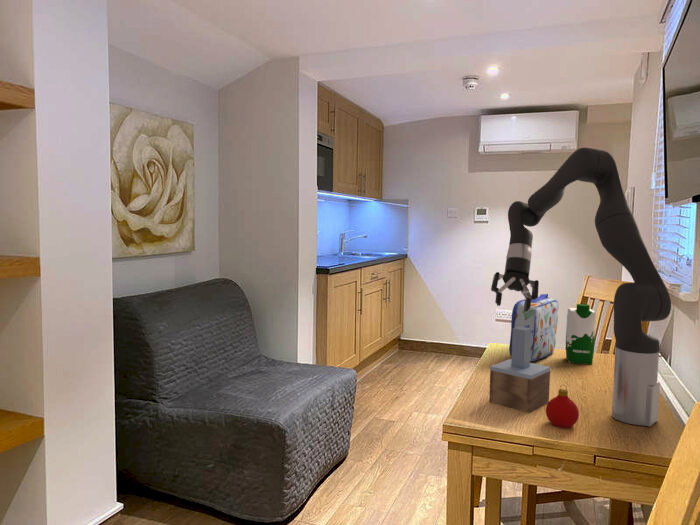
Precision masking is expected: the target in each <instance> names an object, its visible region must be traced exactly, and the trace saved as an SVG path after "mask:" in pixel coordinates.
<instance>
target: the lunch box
mask: <svg viewBox="0 0 700 525" xmlns="http://www.w3.org/2000/svg"><path fill="white" fill-rule="evenodd" d="M548 296H549V294H548V293H544V294H543V293H542V294H539V295H538V298H536V299H535V300H531V305H530V309H529V310H528V311H526V312H525V311H524V304H525V300H526V299H525V298H524V299H520V300H518V301H516V302H515V304H514V305H513V307H512V311H511V321H510V322H511V323H510V327H511V328H510V338H509V346H508V349H509V350H508V351H509V356H510V357H512V335H513V328H516V327H524V328H531V349H530V362H535V361H538V360H541V359H544V358H547V357H548V356H549V355H551V354H553V353H554V351H555V348H556V344H557V343H556V342H557V341H556V340H557V339H556V336H557V330H558V329H557V328H558V319H559V302H558V300H557V299H555V298H550V297H548Z"/></svg>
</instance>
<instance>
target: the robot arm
mask: <svg viewBox="0 0 700 525" xmlns="http://www.w3.org/2000/svg"><path fill="white" fill-rule="evenodd" d="M576 181H579V182H583V183H589V184H590V183H591V184H593V185H594V186H595V188H596V190H597V193H598V195H599V204H598V207H597V211H596V212H595V216H594V225H595V230H596V232H597V236H598V238H599V241H600V243H601V245H602V247H603V248H604V249H605V251H606V252H607V253H608V254H609V255H610V256H611V257H612V258H613V259H615V260H616V261H617V262H618V263H619V264H620V265H622V267H623V268H624V269H625V270H626V271H627V272H628V273H629V275H630V276H631V278H632V280H633V282H625V283H621V284H620V285H619V286H618V287H617V288H616V291H615V293H614V299H613V335H614V338H615V349H614V350H615V351H614V367H613V368H614V369H613V370H614V371H613V382H612V383H613V384H612V385H613V388H612V403H611V416H612V417H613V419H615V420H616V421H620V422H622V423H626V424H629V425H630V424H631V425H635V426H644V427H645V426H646V427H652V426H653V425H654V424H655V423H656V422H657V421H658V417H659V403H660V387H661V386H660V385H661V384H660V381H658V378H659V376H658V375H659V360H660V359H659V358H660V346H661V344H660V341H659V339H658V338H657V337H655V336H652V335H649V334H646V333H645V332H644V331H643V327H642V322H661V321H664V320H666V319H667V318H668V317H669V315H670V314H671V311H672V301H671V300H672V299H671V296H670V293H669V291H668V289H667V286H666V284H665V283H664V280H663V278H662V277H661V276H660V275H661V274H659V271H658V270H657V267H656V266H655V265H654V264H655V263H654V262H653V260H652V258H651V257H650V253H649V251H648V249H647V247H646V245H645V242H644V241H643V240H644V239H643V237H642V235H641V233H640V229H639V226H638V223H637V221H636V219H635V217H634V214H633V212H632V210H631V207H630V205H629V203H628V200H627V197H626V194H625V191H624V188H623V184H622V181H621V177H620V173H619V169H618V166H617V162H616V159H615V157H614V155H613V154H612V153H611V152H609V151H606V150H602V149H598V148H592V147H580V148H577V149H576V150H575V151H574V152H573V153H571V154H570V156H568V158H567V159H566V160H565V161H564V162H563V163H562V164H561V165H560V167H559V168H558V169H557V170H556V172H555V173H554V174H553V175H552V177H551V178H550V179H549V180H548V181H547V182H546V183H545V184H544V185H543V186H542V187H540V188H539V189H538V190H536V191H535V192H534V193H533V194H531V195H530V196H529V198H528V200H527V203H526V202H523V201H519V200H516V201H513V202H512V203H511V204H510V206H509V208H508V211H507V220H508V226H509V233H510V234H509V235H510V237H509V243H508V248H507V254H506V257H505V259H506V262H505V267H504V273H503V274H502V273H500V272H498V271H497V272H495V273H494V274H493V278H492V282H491V283H492V284H491V288H490V290H491V292H493V293H495V294H496V295H495V302H494V303H495V304H496V306H498V307H500V306H501V304H502V298H503V292H504V291H505V290H506V289H508V290H510V291H515V292H518V293H519V292H520V293H521V295H522V296H524V299H526V300H525V304H524V311H525V312H526V311H528V310H529V309H530V305H531V300H535V299H536V298H538V297H539V279H538V280H537V279H536V280H531V279H530V278H529V277H530V270H531V269H530V268H531V261H532V248H533V247H532V246H533V238H534V235H533V232H532V231H531V230H530V229H529V228H527V227H535V226H537V225H538V224H539V223H540V222H541V220H542V219H543V217H544V216H545V214H546V213H547V212H548V211H549V210H551V209H552V208H553V207H555V206H557V205H558V203H560V202H561V200H562V199H563V197H564V194H565V191H566V190H565V189H566V187H567V186H568V185H570V184H572V183H574V182H576ZM501 280H502V281H503V283H504V284H503V285H502V286H500V288H499V287H498V284H499V281H501ZM528 285H530V287H531V292H530V290H529V288H528Z"/></svg>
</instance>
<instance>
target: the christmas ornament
mask: <svg viewBox="0 0 700 525" xmlns="http://www.w3.org/2000/svg"><path fill="white" fill-rule="evenodd" d="M562 386H565V387H566V389H563V388H561V387H562ZM568 391H569V390H568V387H567V386H566V385H565V384H561V385H560V387H559V389H558V391H557V392H558V394H557V395H556V396H555V397H553V398H551V399H549V402H548V403H547V404H546V405H545V406H546V407H545V416H546V418H547V420H548V421H549V422H550V423H551V425H553V426H555V427H556V428H560V429H568V428H571V427H573V426H574V425H575V424H577V422H578V420H579V415H580V411H579V409H578V408H579V407H578V406H577V404H576V403H575V401H573V400H572V399H571V398H570V397H569V396H568V393H569V392H568Z"/></svg>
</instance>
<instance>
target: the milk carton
mask: <svg viewBox="0 0 700 525" xmlns="http://www.w3.org/2000/svg"><path fill="white" fill-rule="evenodd" d="M596 317H597V313H596V311H595V310H594V309H591V307H590V304H587V303H577V304H576V307H567V313H566V326H565V328H566V329H565V353H566V354H565V355H566V357H565V358H566V359H567V361H568V362H569V364H577V365H578V364H579V365H593V359H594V353H595V341H596V338H595V337H596Z"/></svg>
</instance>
